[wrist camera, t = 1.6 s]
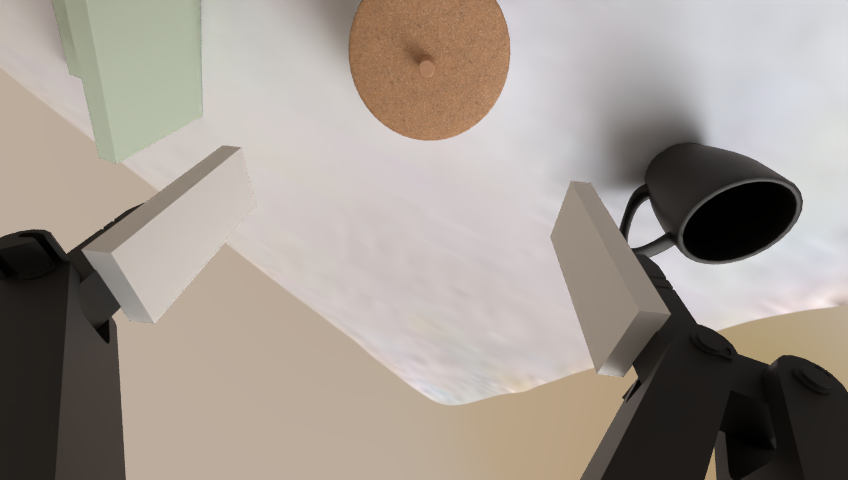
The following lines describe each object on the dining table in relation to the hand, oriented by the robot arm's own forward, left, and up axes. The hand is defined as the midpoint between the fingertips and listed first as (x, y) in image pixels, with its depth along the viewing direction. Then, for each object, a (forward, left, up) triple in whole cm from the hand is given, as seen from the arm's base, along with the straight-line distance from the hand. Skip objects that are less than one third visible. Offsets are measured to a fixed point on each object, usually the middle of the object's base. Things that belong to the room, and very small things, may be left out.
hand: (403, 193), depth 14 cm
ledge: (+3, -25, -21) cm, 33 cm away
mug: (+1, +24, -21) cm, 32 cm away
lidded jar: (-2, -1, -21) cm, 21 cm away
